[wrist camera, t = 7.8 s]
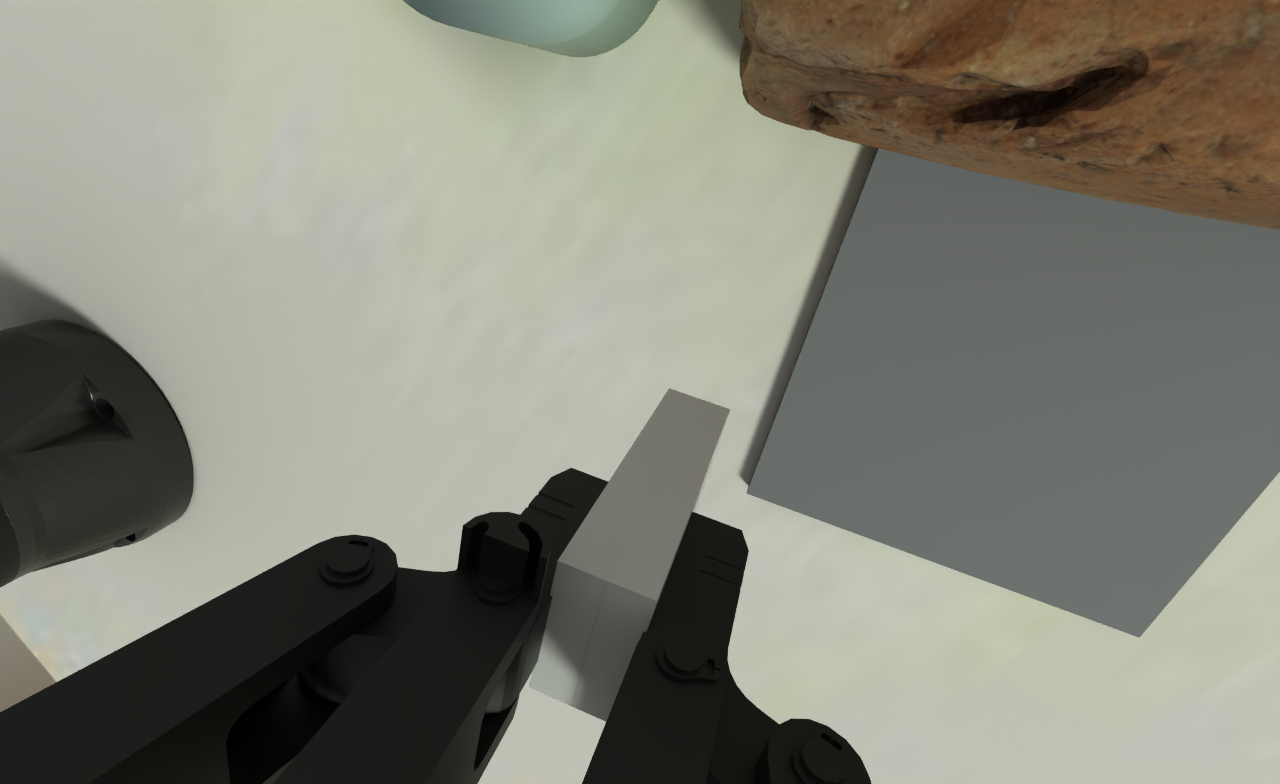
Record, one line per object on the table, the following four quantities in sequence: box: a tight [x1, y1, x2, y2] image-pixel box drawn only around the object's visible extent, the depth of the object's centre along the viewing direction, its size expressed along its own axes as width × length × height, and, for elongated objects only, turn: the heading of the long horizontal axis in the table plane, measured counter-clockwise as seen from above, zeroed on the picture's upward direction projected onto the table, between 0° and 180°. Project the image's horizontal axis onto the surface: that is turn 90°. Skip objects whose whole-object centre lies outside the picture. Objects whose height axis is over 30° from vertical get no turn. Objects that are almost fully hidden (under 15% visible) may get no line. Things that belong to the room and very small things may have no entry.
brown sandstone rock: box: [739, 0, 1280, 230], centre depth 15 cm, size 11×8×20 cm
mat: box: [747, 148, 1280, 637], centre depth 24 cm, size 17×16×1 cm
